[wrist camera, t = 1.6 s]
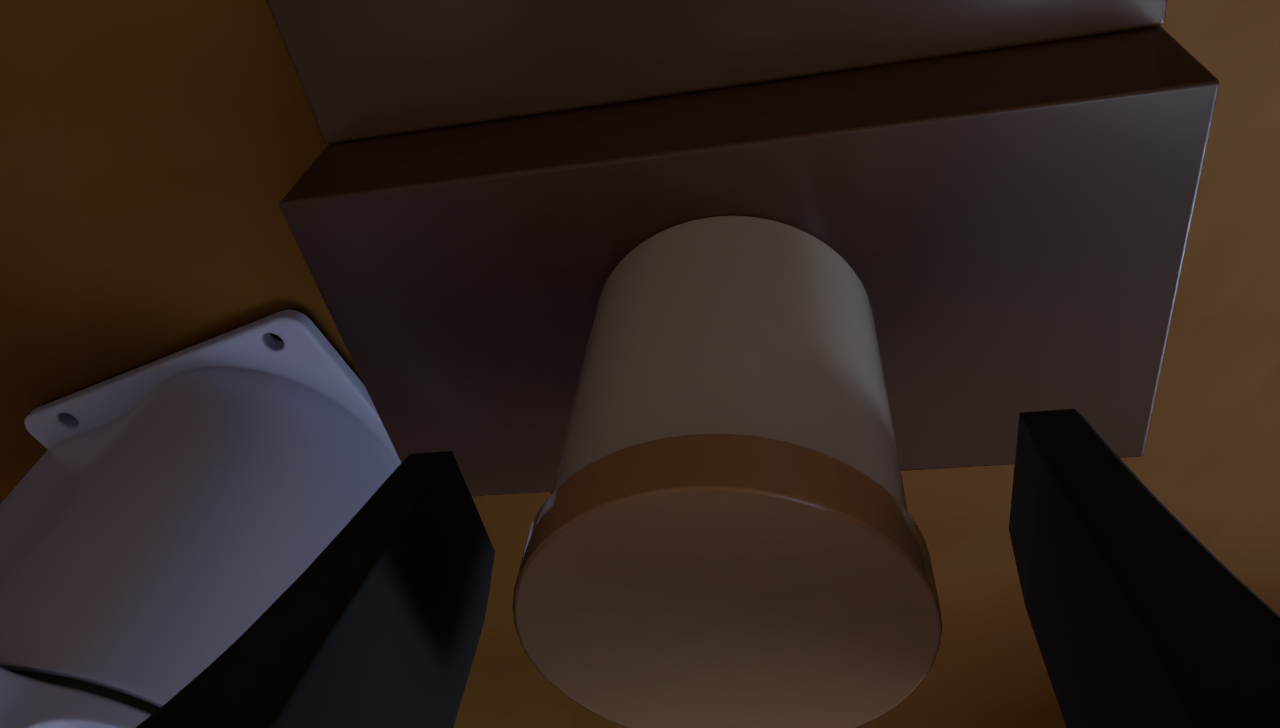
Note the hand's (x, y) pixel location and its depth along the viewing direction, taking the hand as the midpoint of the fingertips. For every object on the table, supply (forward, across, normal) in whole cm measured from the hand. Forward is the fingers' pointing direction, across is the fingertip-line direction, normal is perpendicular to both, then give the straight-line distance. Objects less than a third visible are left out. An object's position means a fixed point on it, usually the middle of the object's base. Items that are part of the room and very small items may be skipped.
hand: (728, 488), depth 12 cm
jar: (+3, 0, 0) cm, 3 cm away
